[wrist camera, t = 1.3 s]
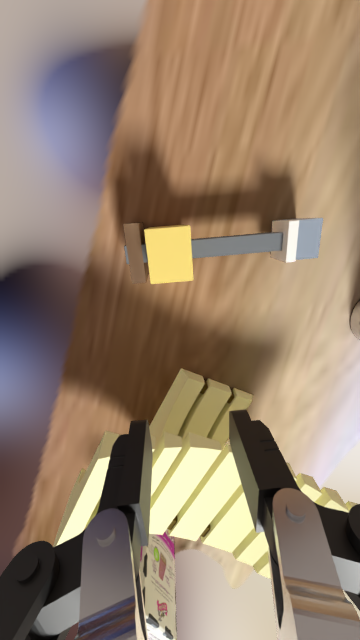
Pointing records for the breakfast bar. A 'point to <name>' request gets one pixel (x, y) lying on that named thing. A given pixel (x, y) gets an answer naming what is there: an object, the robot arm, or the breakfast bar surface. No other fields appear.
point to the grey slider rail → (230, 245)
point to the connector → (308, 237)
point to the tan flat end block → (136, 252)
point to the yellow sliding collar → (169, 253)
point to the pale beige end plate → (286, 240)
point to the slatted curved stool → (192, 475)
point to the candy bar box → (159, 586)
